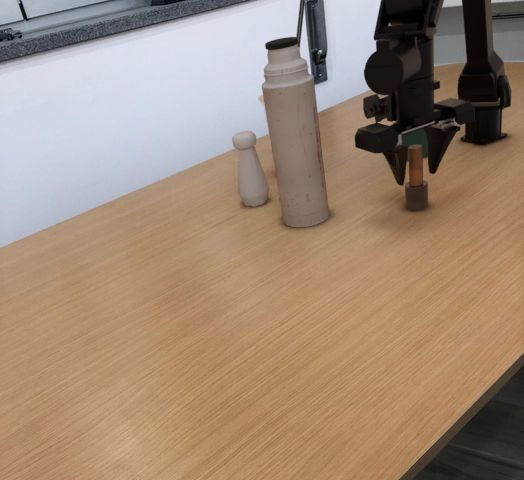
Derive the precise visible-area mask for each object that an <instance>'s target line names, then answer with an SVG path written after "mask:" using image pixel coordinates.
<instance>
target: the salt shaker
mask: <svg viewBox="0 0 524 480" xmlns="http://www.w3.org/2000/svg"><path fill="white" fill-rule="evenodd" d="M257 139H258V138H257V135H256V133H255V132H254V131H252V130H242V131H239V132H236V133H235V134H234V135H233V136H232V137H231V143H232V146H233V148H234V149H235V150H237V193H238V196H239V198H240V199H241V200H242V202H243V203H244V205H245V207H253V208H254V207H258V206H261V205H264V204H265V203H266V202H267V201H268V197H269V193H270V192H269V191H270V186H269V183H268V180H267V177H266V175H265V172H264V169H263V167H262V163H261V161H260V157H259V155H258V151H257V149H256V147H255V146H256V145H257V141H258V140H257Z"/></svg>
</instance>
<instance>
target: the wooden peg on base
mask: <svg viewBox="0 0 524 480" xmlns="http://www.w3.org/2000/svg"><path fill="white" fill-rule="evenodd" d="M407 162H408V181H407V182H406V183H404V195H405V196H404V198H405V199H404V200H405V210H407V211H409V212H421V211H425V210H426V209H427V208H428V207H429V182H428V181H427V180H425V179H424V158H423V146H422V145H418V144H417V145H411V146H409V147H408V161H407Z"/></svg>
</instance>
